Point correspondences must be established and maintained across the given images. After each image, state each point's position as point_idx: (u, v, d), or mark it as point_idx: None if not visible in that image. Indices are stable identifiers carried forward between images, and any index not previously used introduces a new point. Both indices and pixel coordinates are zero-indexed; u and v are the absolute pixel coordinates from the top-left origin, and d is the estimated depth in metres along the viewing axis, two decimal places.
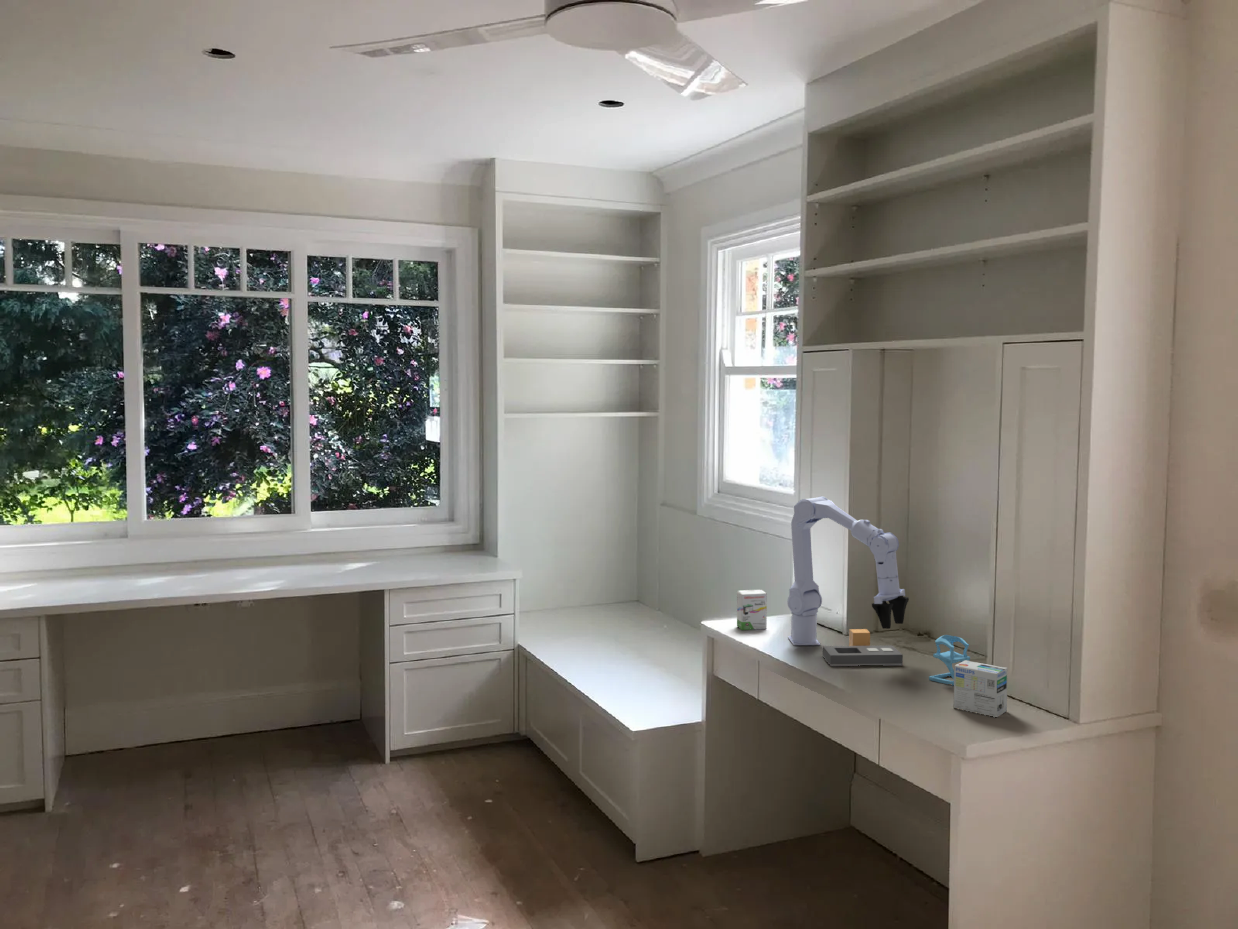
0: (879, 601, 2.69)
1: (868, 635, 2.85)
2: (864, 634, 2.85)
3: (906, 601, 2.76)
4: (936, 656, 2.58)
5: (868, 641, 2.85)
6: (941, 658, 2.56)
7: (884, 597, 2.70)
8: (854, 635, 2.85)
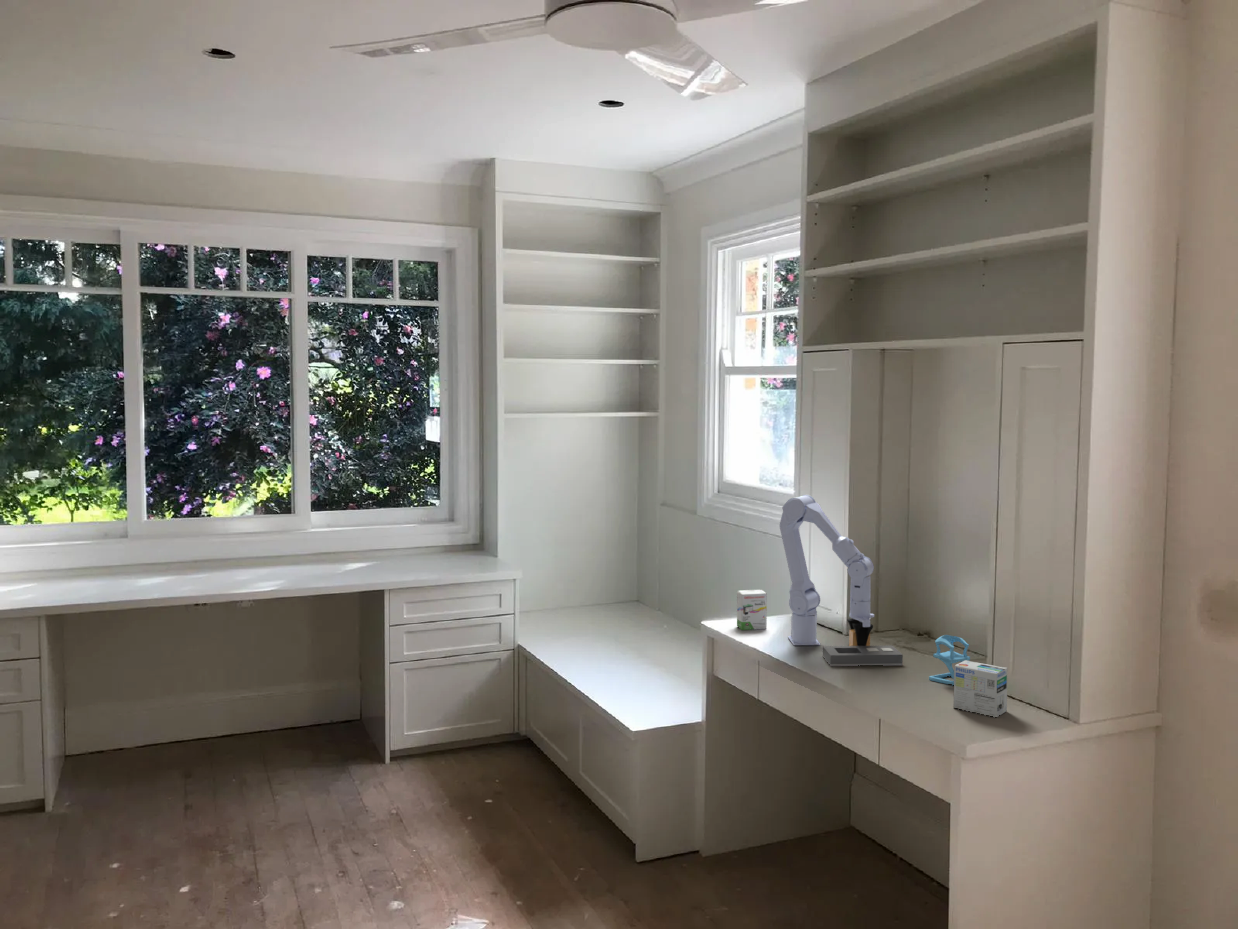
0: (869, 624, 2.79)
1: None
2: None
3: None
4: (936, 656, 2.58)
5: (868, 641, 2.85)
6: (941, 658, 2.56)
7: (869, 620, 2.81)
8: (854, 635, 2.85)
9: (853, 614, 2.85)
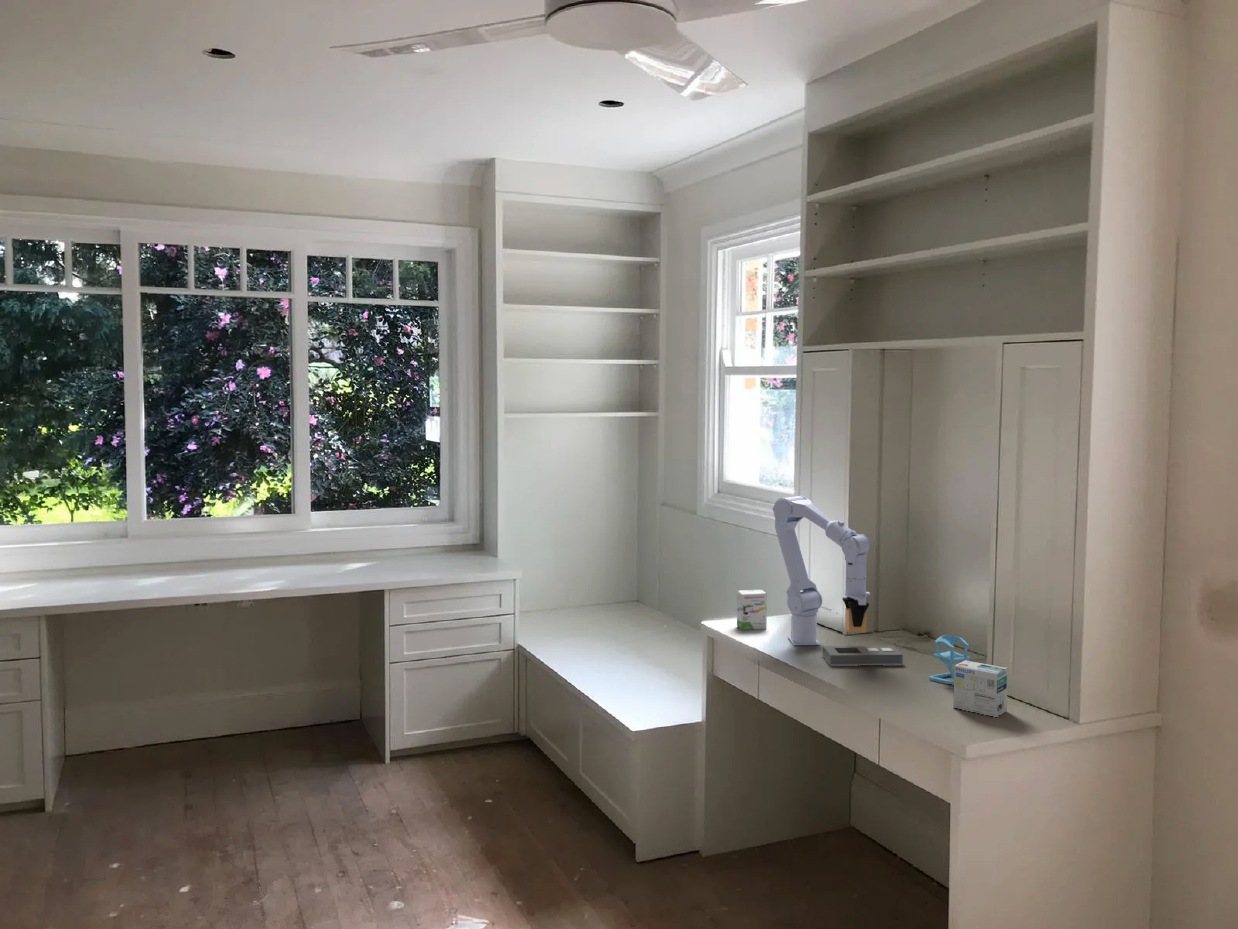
0: (865, 602, 2.75)
1: None
2: None
3: None
4: (936, 656, 2.58)
5: (864, 620, 2.80)
6: (941, 658, 2.56)
7: (865, 598, 2.76)
8: (850, 614, 2.80)
9: (849, 592, 2.80)
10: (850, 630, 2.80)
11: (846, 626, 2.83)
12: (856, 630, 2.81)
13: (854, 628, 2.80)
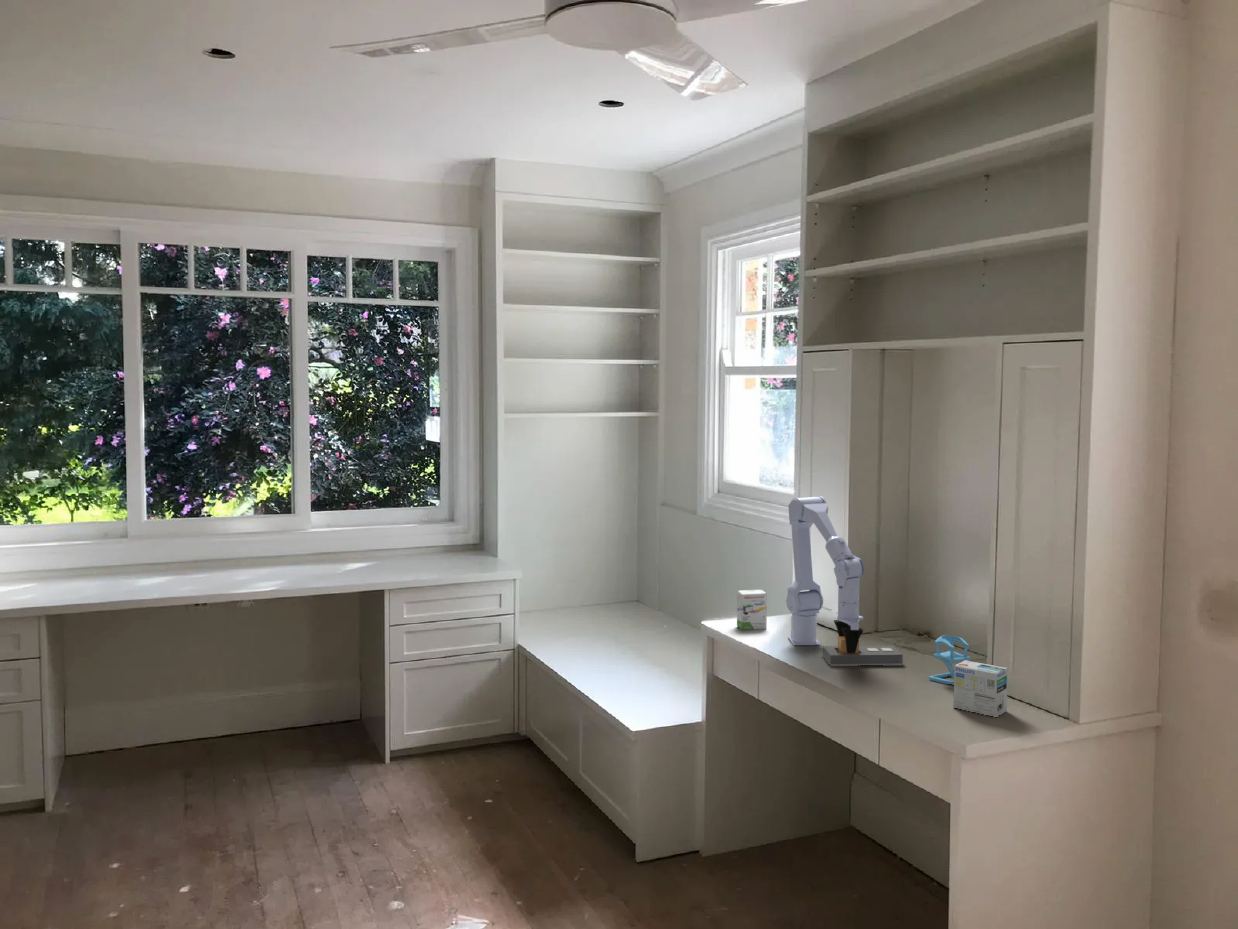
0: (857, 627, 2.69)
1: None
2: None
3: None
4: (936, 656, 2.58)
5: (857, 649, 2.75)
6: (941, 658, 2.56)
7: (857, 623, 2.71)
8: (842, 642, 2.75)
9: (841, 616, 2.75)
10: None
11: None
12: None
13: None
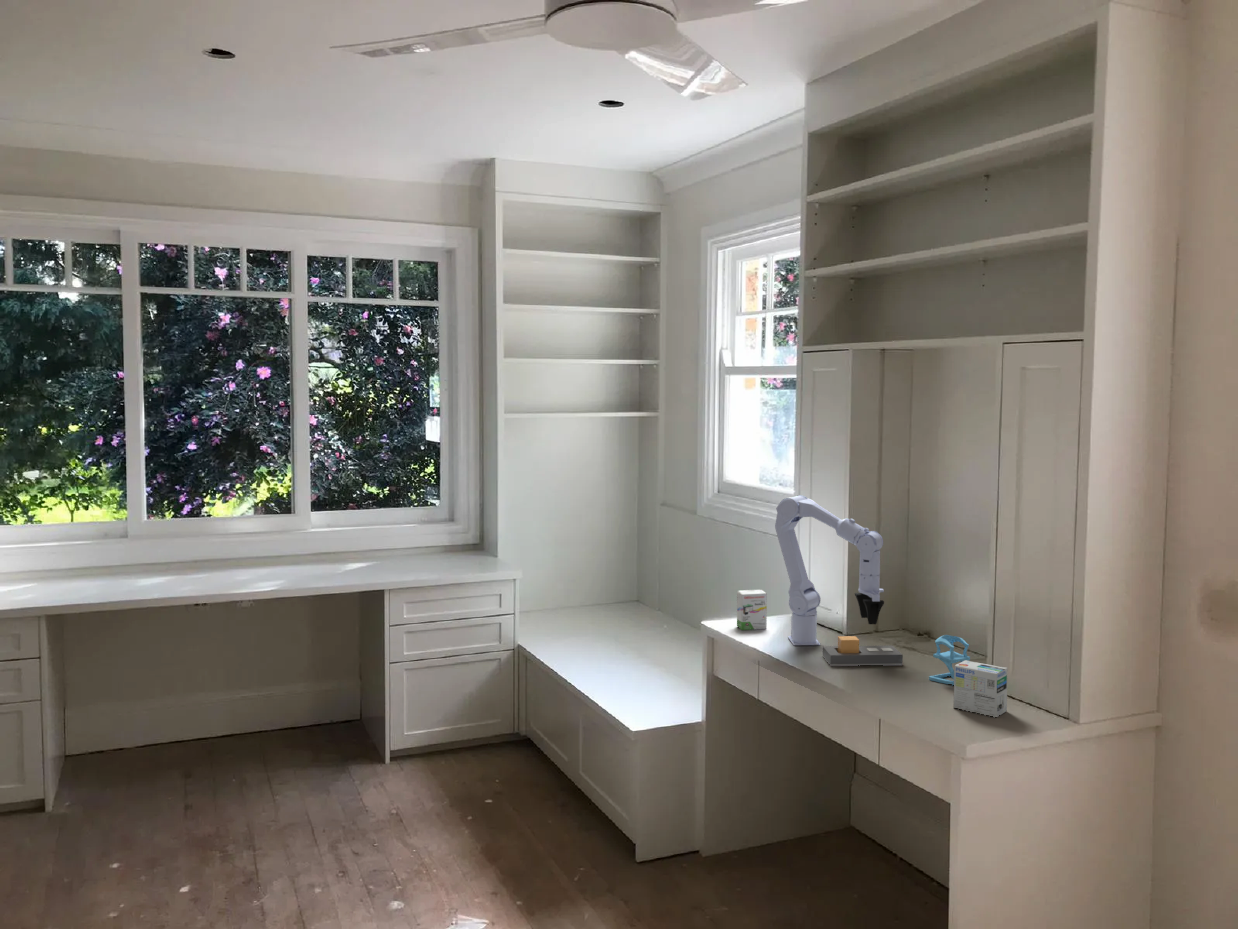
0: (878, 599, 2.77)
1: (857, 642, 2.75)
2: (853, 641, 2.75)
3: None
4: (936, 656, 2.58)
5: (857, 649, 2.75)
6: (941, 658, 2.56)
7: None
8: (842, 642, 2.75)
9: (862, 589, 2.82)
10: None
11: None
12: None
13: None
